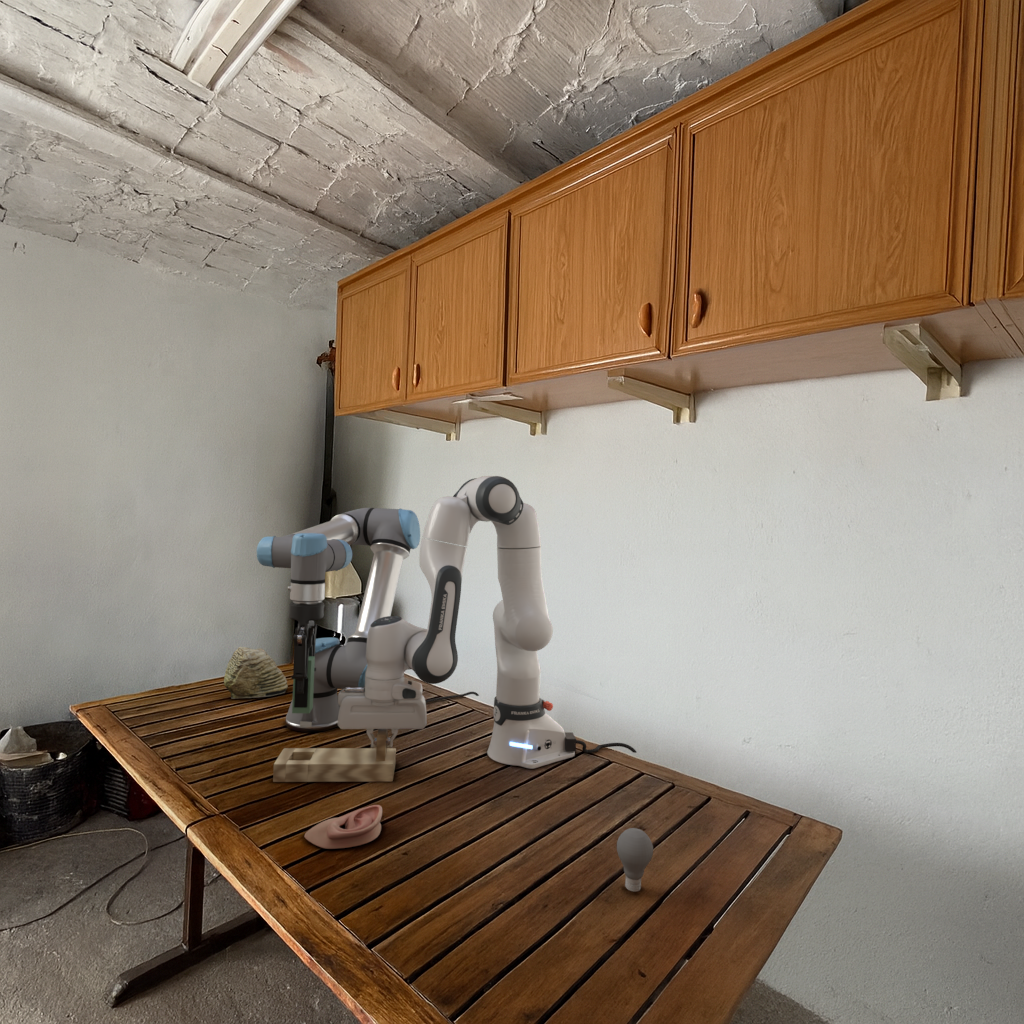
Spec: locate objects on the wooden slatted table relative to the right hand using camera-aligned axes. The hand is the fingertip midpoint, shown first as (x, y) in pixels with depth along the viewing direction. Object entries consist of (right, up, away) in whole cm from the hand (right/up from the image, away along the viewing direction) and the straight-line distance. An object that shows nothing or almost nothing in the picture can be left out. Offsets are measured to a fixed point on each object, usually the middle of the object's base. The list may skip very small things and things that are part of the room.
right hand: (382, 746), depth 146 cm
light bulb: (+50, -9, -41) cm, 65 cm away
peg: (-18, +9, -2) cm, 20 cm away
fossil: (-50, -3, +51) cm, 72 cm away
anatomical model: (-2, -7, -27) cm, 28 cm away
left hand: (-18, +11, -2) cm, 21 cm away
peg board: (-10, -6, -1) cm, 12 cm away
